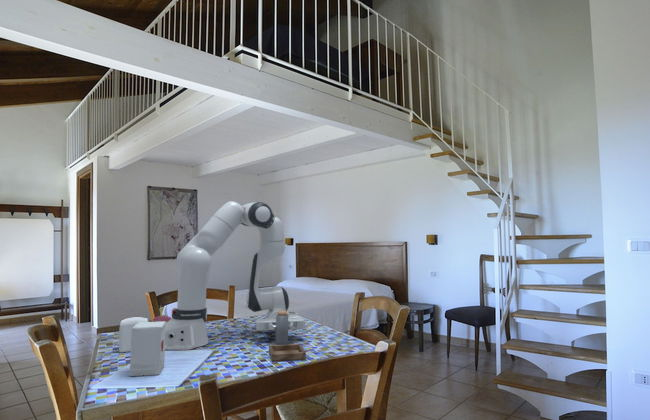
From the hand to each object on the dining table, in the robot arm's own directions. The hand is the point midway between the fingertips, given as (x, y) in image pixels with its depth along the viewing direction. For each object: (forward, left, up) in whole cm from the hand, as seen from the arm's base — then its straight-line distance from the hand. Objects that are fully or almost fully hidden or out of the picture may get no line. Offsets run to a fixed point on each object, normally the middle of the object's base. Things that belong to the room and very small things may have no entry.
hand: (282, 327), depth 161 cm
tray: (0, -14, -7) cm, 16 cm away
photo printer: (-56, +4, -7) cm, 57 cm away
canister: (0, +1, -7) cm, 7 cm away
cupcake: (-51, +35, -7) cm, 62 cm away
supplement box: (-46, -22, -7) cm, 52 cm away
